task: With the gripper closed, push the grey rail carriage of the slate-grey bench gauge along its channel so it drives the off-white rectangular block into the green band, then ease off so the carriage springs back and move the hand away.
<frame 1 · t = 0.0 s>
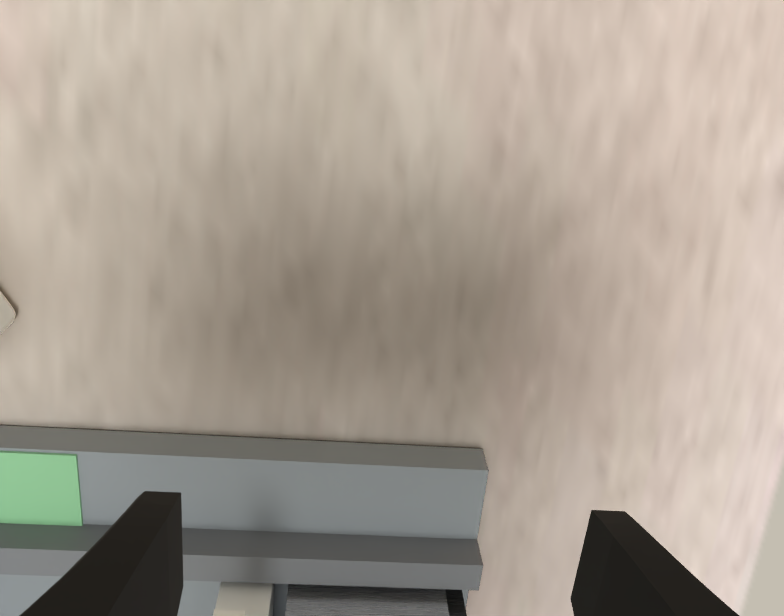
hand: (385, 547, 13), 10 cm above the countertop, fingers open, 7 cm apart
gauge board: (204, 581, 26), on the countertop
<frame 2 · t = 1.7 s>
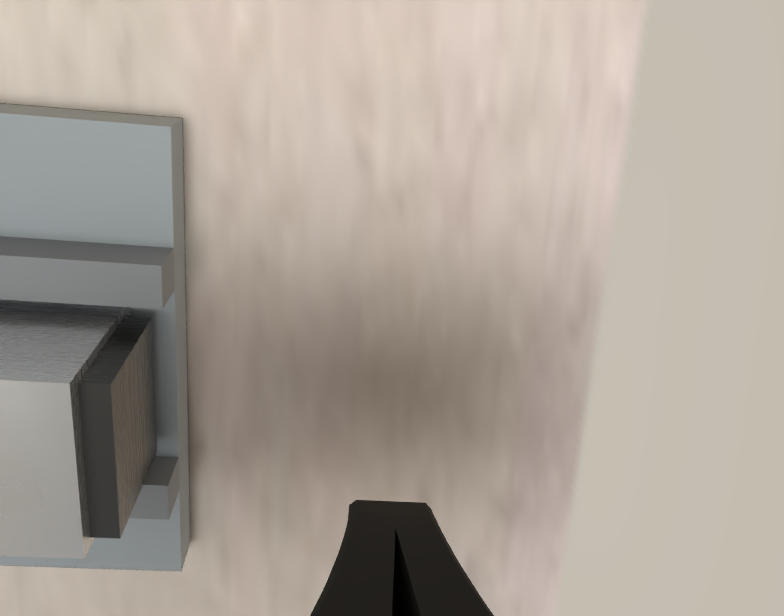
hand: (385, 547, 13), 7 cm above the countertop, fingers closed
grey rail carriage: (2, 415, 16), point 3 cm above the countertop, slide at 0.0 cm
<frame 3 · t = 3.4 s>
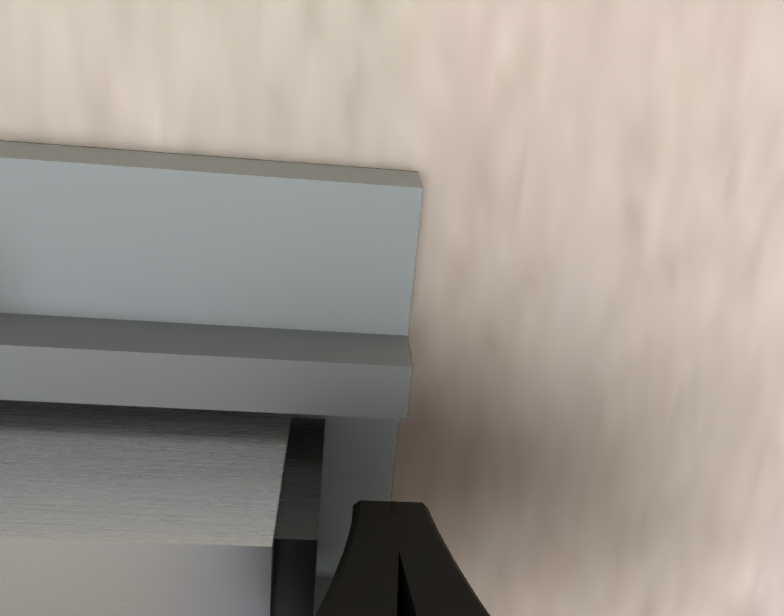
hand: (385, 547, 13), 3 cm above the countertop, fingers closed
grey rail carriage: (147, 555, 12), point 3 cm above the countertop, slide at 1.0 cm, touching gripper, off-white rectangular block
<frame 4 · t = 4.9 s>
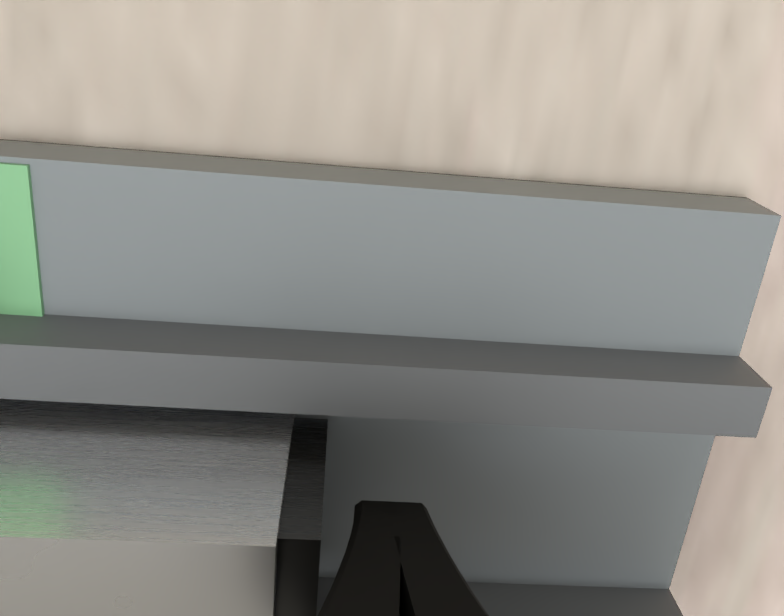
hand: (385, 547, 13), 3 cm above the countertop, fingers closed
gauge board: (254, 446, 16), on the countertop
grey rail carriage: (149, 554, 12), point 3 cm above the countertop, slide at 7.1 cm, touching gripper, off-white rectangular block
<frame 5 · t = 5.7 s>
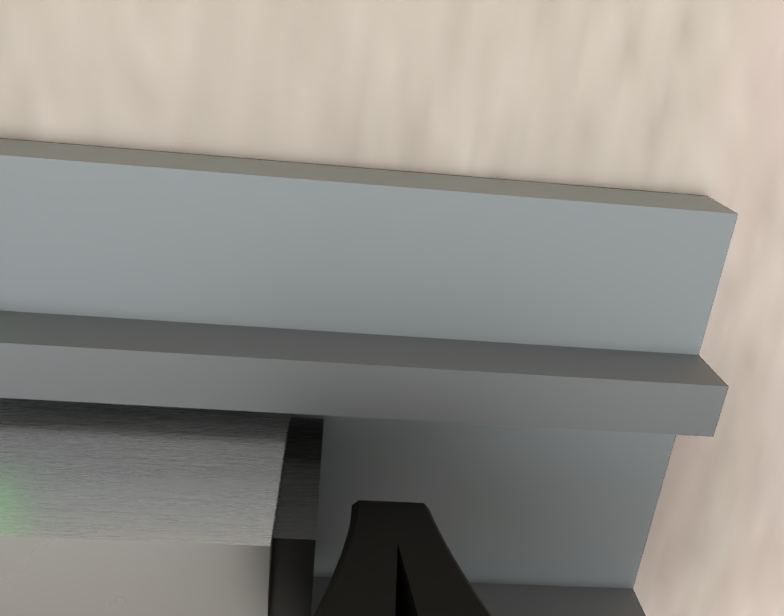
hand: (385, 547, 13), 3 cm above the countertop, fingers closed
gauge board: (216, 444, 15), on the countertop
grey rail carriage: (145, 554, 12), point 3 cm above the countertop, slide at 6.4 cm, touching gripper
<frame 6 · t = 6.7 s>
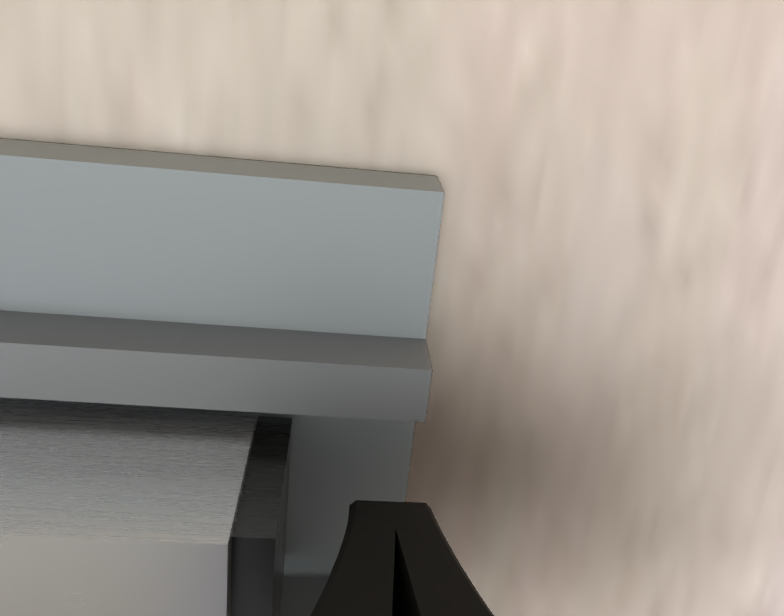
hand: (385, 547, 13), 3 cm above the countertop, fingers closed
grey rail carriage: (110, 552, 12), point 3 cm above the countertop, slide at 1.9 cm
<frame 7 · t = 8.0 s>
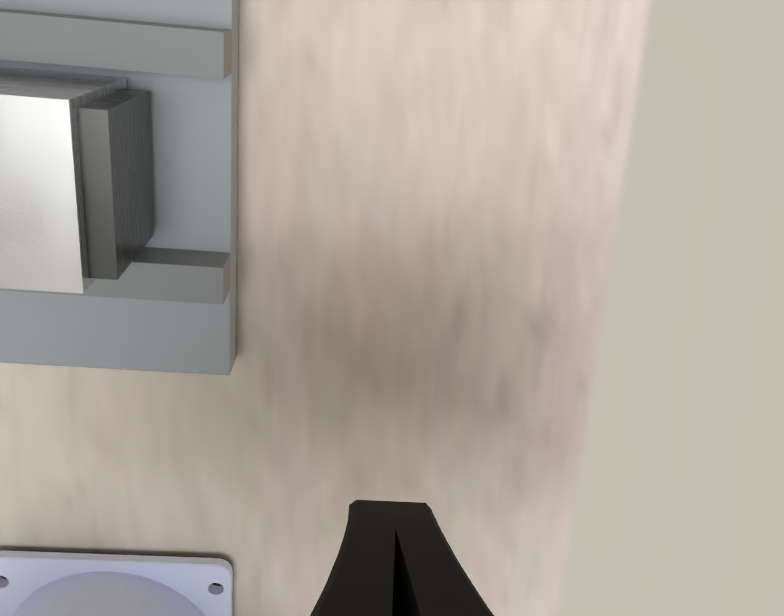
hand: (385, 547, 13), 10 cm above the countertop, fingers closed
grey rail carriage: (5, 171, 17), point 3 cm above the countertop, slide at 1.5 cm
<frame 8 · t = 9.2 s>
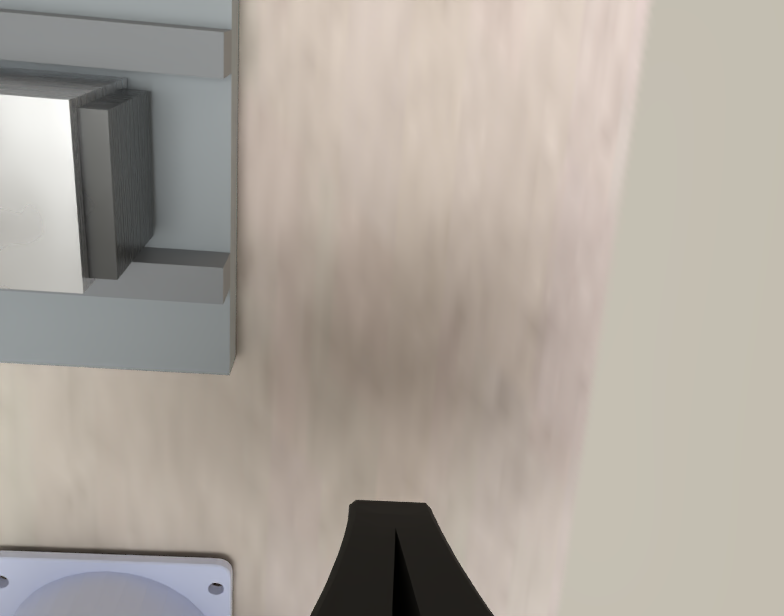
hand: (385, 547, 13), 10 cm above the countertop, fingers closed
grey rail carriage: (5, 171, 17), point 3 cm above the countertop, slide at 1.5 cm
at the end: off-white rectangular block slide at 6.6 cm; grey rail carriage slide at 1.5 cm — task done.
